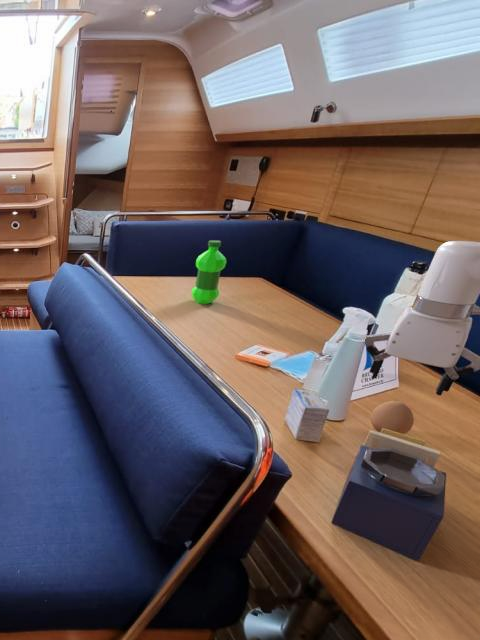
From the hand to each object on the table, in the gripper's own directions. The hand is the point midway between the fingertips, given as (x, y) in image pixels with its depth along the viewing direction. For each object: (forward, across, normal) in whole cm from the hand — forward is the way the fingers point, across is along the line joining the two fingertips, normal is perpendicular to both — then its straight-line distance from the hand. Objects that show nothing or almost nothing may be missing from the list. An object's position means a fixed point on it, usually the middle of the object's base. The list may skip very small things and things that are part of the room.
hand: (405, 384), depth 87 cm
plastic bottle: (+14, +61, -64) cm, 89 cm away
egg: (+13, 0, 0) cm, 13 cm away
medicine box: (+13, +13, +11) cm, 21 cm away
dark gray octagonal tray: (+3, -2, +31) cm, 31 cm away
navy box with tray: (+13, -2, +31) cm, 34 cm away
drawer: (+12, -2, +19) cm, 23 cm away
